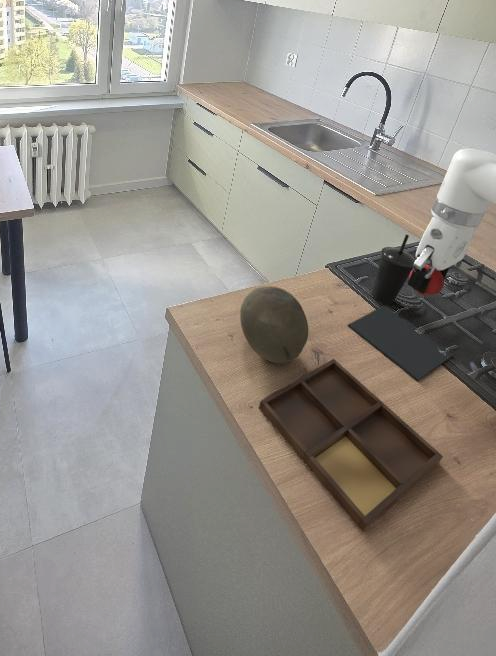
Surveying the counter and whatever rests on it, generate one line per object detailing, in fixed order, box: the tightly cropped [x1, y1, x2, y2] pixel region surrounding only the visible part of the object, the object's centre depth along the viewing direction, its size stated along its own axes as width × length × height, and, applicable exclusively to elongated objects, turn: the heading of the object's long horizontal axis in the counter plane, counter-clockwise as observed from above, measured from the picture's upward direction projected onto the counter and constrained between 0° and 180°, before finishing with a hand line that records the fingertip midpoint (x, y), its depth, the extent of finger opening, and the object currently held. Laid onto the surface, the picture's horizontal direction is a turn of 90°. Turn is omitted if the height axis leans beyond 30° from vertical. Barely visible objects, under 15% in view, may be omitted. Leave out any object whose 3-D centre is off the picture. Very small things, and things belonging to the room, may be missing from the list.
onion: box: [408, 264, 445, 296], centre depth 87 cm, size 6×6×8 cm
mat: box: [347, 305, 454, 382], centre depth 97 cm, size 16×14×1 cm
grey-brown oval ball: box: [239, 285, 309, 364], centre depth 90 cm, size 14×14×15 cm
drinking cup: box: [371, 234, 417, 306], centre depth 105 cm, size 8×8×20 cm
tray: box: [258, 358, 444, 532], centre depth 76 cm, size 21×21×2 cm
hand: (425, 283), depth 88 cm, fingers closed on onion, 6 cm apart
